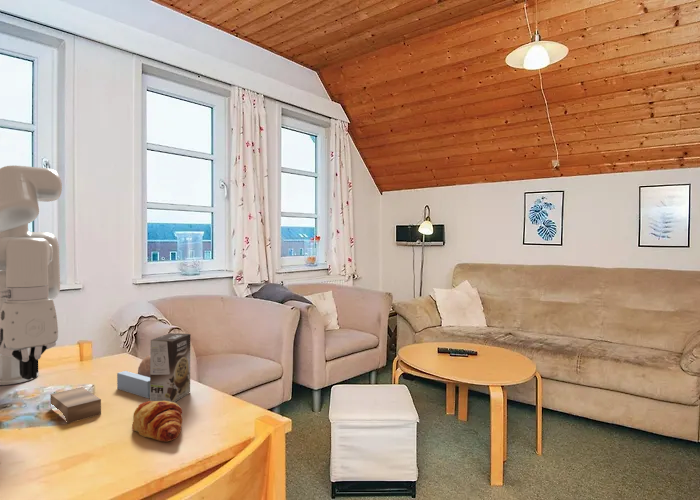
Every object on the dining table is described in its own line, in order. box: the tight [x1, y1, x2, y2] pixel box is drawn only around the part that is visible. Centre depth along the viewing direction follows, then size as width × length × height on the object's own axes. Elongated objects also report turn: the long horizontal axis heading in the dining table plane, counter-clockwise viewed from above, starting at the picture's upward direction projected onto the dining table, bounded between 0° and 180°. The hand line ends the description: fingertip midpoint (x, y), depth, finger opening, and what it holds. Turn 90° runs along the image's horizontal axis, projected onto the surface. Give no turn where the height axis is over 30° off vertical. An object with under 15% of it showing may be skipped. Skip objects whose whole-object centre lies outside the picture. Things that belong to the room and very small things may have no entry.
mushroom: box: [137, 354, 150, 377], centre depth 131 cm, size 8×6×8 cm
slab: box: [50, 386, 102, 424], centre depth 110 cm, size 12×7×4 cm, turn 49°
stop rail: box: [116, 370, 150, 399], centre depth 124 cm, size 13×2×4 cm, turn 60°
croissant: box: [131, 400, 183, 442], centre depth 102 cm, size 21×10×8 cm, turn 41°
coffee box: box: [149, 332, 191, 403], centre depth 120 cm, size 9×6×16 cm
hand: (29, 377), depth 101 cm, fingers closed
